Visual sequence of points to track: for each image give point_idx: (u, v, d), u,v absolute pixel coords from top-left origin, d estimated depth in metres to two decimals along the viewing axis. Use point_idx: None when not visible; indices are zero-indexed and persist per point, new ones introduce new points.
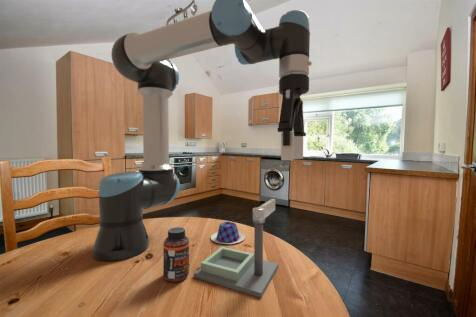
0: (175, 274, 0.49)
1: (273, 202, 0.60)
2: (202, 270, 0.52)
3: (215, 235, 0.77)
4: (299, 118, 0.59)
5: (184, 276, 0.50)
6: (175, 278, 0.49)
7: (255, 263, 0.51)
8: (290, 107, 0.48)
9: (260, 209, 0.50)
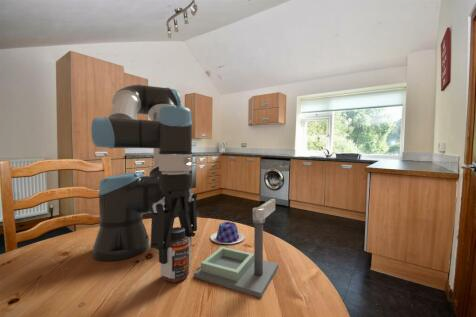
0: (175, 274, 0.49)
1: (273, 202, 0.60)
2: (202, 270, 0.52)
3: (215, 235, 0.77)
4: (184, 215, 0.53)
5: (184, 276, 0.50)
6: (175, 278, 0.49)
7: (255, 263, 0.51)
8: (158, 227, 0.45)
9: (260, 209, 0.50)
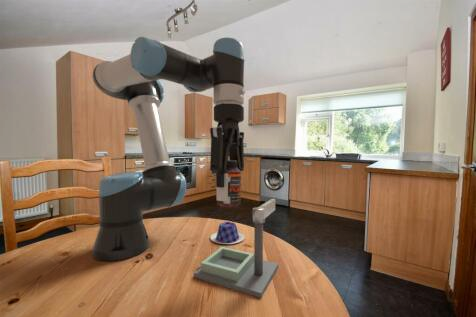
0: (231, 199, 0.51)
1: (273, 202, 0.60)
2: (202, 270, 0.52)
3: (215, 235, 0.78)
4: (235, 148, 0.55)
5: (238, 203, 0.53)
6: (230, 203, 0.51)
7: (255, 263, 0.51)
8: (218, 149, 0.48)
9: (260, 209, 0.50)
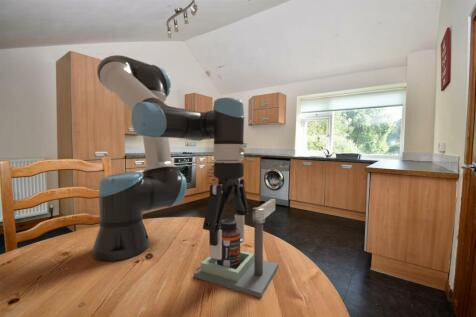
0: (230, 263, 0.52)
1: (273, 202, 0.60)
2: (202, 270, 0.52)
3: None
4: (237, 200, 0.57)
5: (237, 265, 0.53)
6: (230, 266, 0.52)
7: (255, 263, 0.51)
8: (215, 207, 0.47)
9: (260, 209, 0.50)
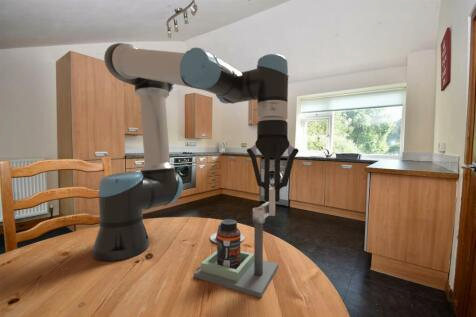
0: (230, 263, 0.52)
1: None
2: (202, 270, 0.52)
3: (216, 234, 0.78)
4: (275, 163, 0.53)
5: (237, 265, 0.53)
6: (230, 267, 0.52)
7: (255, 263, 0.51)
8: (253, 167, 0.54)
9: (260, 209, 0.50)
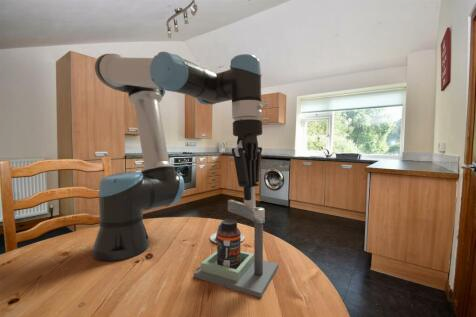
0: (230, 263, 0.52)
1: None
2: (202, 270, 0.52)
3: None
4: (252, 162, 0.56)
5: (237, 265, 0.53)
6: (230, 267, 0.52)
7: (255, 263, 0.51)
8: (243, 168, 0.51)
9: (261, 208, 0.51)
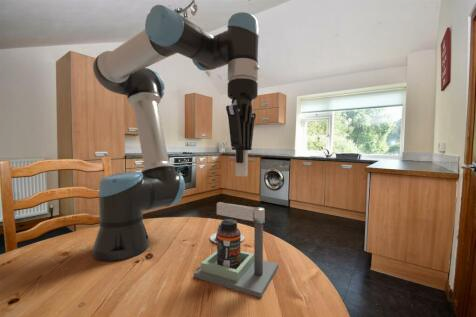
0: (230, 263, 0.52)
1: None
2: (202, 270, 0.52)
3: None
4: (246, 125, 0.55)
5: (237, 265, 0.53)
6: (230, 267, 0.52)
7: (255, 263, 0.51)
8: (237, 127, 0.50)
9: (261, 208, 0.51)
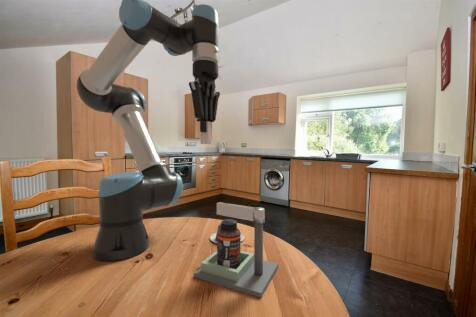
0: (230, 263, 0.52)
1: None
2: (202, 270, 0.52)
3: None
4: (209, 100, 0.64)
5: (237, 265, 0.53)
6: (230, 267, 0.52)
7: (255, 263, 0.51)
8: (198, 100, 0.59)
9: (261, 208, 0.51)
